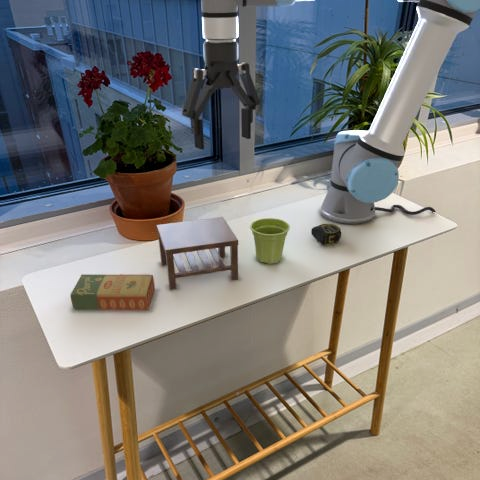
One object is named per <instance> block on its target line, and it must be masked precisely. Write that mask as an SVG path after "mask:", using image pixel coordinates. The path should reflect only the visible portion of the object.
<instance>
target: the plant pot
mask: <svg viewBox="0 0 480 480" xmlns="http://www.w3.org/2000/svg"><path fill="white" fill-rule="evenodd" d="M249 228H250V231H251V232H252V235H253V240H254V248H255V255H256V260H257V261H258V262H260V263H266V264H267V265H271V264H276V263H279V262H280V261H281V260H282V257H283V253H284V246H285V242H286V237H287V235H288V232H289V231H290V229H291V226H290V224H289V223H288V221H285V220H284V219H279V218H273V217H268V218H267V217H264V218H260V219H256V220H253V222H251V223H250V225H249Z"/></svg>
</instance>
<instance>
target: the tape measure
mask: <svg viewBox="0 0 480 480" xmlns="http://www.w3.org/2000/svg"><path fill="white" fill-rule="evenodd" d="M310 233H311V236H312V237H313V238H314V239H316V241H318V242H319V243H320V245H322V246H328V245H334V244H337V243H338V242H339V241H340V240H341V238H342V230H341V228H340V227H339V226H338V225H336V224H334V223H322V224H319V225H316V226H313V227H312V228H311V231H310Z"/></svg>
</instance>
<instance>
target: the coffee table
mask: <svg viewBox="0 0 480 480" xmlns="http://www.w3.org/2000/svg"><path fill="white" fill-rule="evenodd" d="M156 230H157V237H158V246H159V247H158V248H159V256H160V264H161V266H166V269H167V270H166V271H167V277H168V278H167V280H168V288H169V290H170V291H173V290H176V289H177V280H176V279H180V278H181V279H182V278H186V277H195V276H200V275H206V274H212V273H213V274H214V273H219V272H220V273H221V272H226V271H227V272H228V271H230V278H231V280H232V281H236V280H238V279H239V239H238V237H237V236H236V234H235V233H234V231H233V229H232V228H231V227H230V225H229V224H228V222H227V220H226V219H225V217H224V216H218V217H217V216H216V217H209V218H203V219H201V218H200V219H193V220H185V221H177V222H170V223H163V224H161V223H160V224H156ZM227 247H229V255H230V256H229V258H230V262H229V263H230V264H228V265H226V264H225V262H224V260H223V258H224V257H226V248H227ZM207 250H208V251H209V253H210V254H211V256H212V258H213V260H214V262H215V265H216V266H213V265H212V263H211V262H210V259H209V257H208V255H207V253H206V252H205V251H207ZM193 252H196V253H197V255H198V257H199V259H200V262H201V263H202V265H203V267H204V268H201V269H200V267H199V264H198V263H197V261H196V258H195V256H194V254H193ZM180 254H184V255H185V257H186V260H187V262H188V264H189V267H190V269H191V270H187V269H186V267H185V264H184V262H183V259H182V257H181V255H180ZM175 266H176V269H177V271H178V272H176V269H175Z"/></svg>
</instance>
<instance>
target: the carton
mask: <svg viewBox="0 0 480 480" xmlns="http://www.w3.org/2000/svg"><path fill="white" fill-rule="evenodd" d="M155 292H156V285H155V277H154V275H153V274H80V277H79V278H78V280H77V282H76V284H75V286H74V287H73V289H72V291H71V292H70V300H71V304H72V308H73V310H75V311H149V309H150V306H151V303H152V299H153V297H154V294H155Z"/></svg>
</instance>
